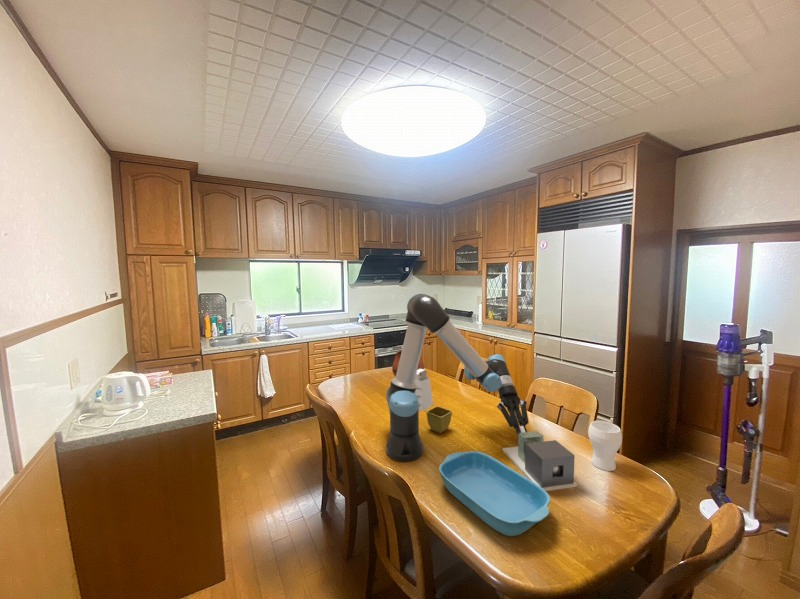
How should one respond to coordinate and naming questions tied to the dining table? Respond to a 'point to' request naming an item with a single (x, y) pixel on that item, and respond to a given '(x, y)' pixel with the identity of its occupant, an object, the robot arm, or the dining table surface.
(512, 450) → the base board
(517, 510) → the casserole dish
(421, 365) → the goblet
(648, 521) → the dining table surface
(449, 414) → the flower pot
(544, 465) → the bearing block
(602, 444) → the cup
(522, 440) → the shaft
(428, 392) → the grater
